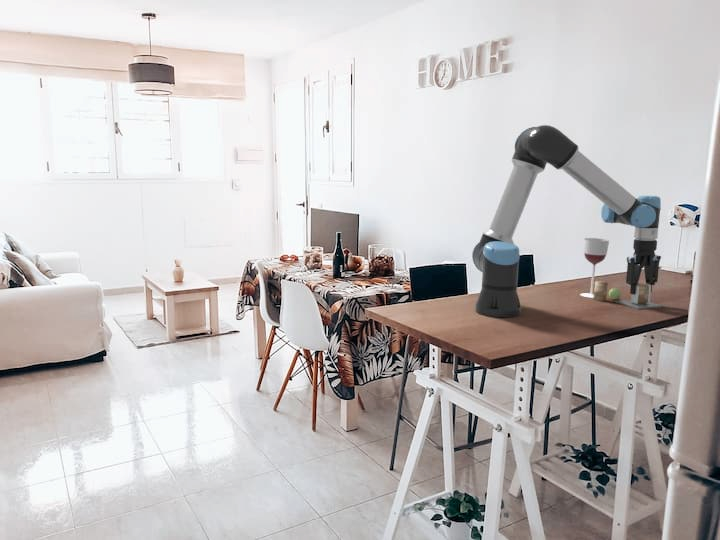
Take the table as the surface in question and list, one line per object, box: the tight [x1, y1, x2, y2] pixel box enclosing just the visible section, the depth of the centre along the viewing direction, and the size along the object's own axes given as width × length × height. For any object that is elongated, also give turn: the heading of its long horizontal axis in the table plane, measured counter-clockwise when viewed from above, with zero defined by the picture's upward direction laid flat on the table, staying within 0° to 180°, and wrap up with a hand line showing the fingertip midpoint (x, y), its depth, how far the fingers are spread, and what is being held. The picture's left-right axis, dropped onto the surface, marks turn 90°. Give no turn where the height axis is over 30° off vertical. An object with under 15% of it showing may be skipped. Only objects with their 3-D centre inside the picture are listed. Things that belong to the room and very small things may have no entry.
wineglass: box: [579, 237, 610, 299], centre depth 218 cm, size 9×10×22 cm
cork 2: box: [637, 282, 649, 305], centre depth 206 cm, size 4×4×7 cm
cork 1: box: [593, 280, 609, 302], centre depth 212 cm, size 4×4×7 cm
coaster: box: [614, 298, 663, 310], centre depth 206 cm, size 11×11×1 cm
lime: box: [608, 287, 623, 301], centre depth 213 cm, size 5×5×5 cm
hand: (640, 302), depth 206 cm, fingers open, 5 cm apart
